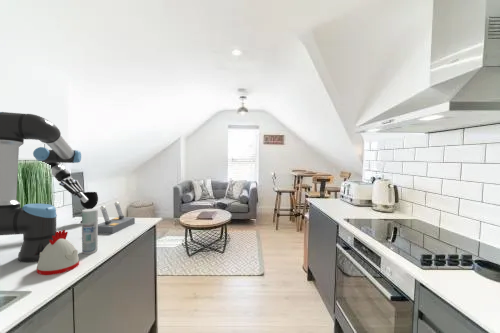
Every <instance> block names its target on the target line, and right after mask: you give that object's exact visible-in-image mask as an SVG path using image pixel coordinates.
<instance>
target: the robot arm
mask: <svg viewBox="0 0 500 333" xmlns="http://www.w3.org/2000/svg"><path fill="white" fill-rule="evenodd" d="M61 134H62V133H61V131H60V129H59V128H58V127H57V125H55V124H54V123H53V122H51V121H50V120H48V119H46V118H45V117H43V116H40V115H37V114H33V113H21V112H20V113H19V112H6V111H0V236H11V235H22V236H23V239H22V241H23V242H22V244H21V245H20V246H21V247H20V249H19V250H20V251H19V252H18V255H17V259H18V261H19V262H23V263H29V262H30V263H31V262H32V263H33V262H38V261H39V258H40V252H42V251H43V250H44V248H45V247H46V246H47V245H48V244H49V243H50V241H49V240H52V241H53V237H52V236H55V234H56V232H57V216H58V215H57V209H56V207H55V205H52V204H48V203H27V204H23V205H22V207H21V202H19V201H18V200H17V191H18V175H19V174H18V172H19V152H20V147H22V145H23V146H24V143H25V142H24V140H34V141H35V140H36V141H40V142H41V143H43V144H46V145H47V146H48V147H49V148H50V149H48V148H47V147H44V146H40V147H37V148H35V149H34V151H33V152H32V154H33V157H34V158H35V159H36V161H38V162H39V161H42V162H45V163H47V164H49V165H51V169H52V174H51V175H52V176H53V177H54V178H55V179H56V180H57V181H58V182H59V183H58V185H59V186H61V187H62V188H64V189H65V190H66V191H67V192H69V193H70V194H71V195H72V196H74V197H78V198H79V199H81V200H82V201H83V202H84V203H85V202H87V201H88V200H89V199H88V198H87V197H86V196H85V195H84V194H83V193H84V192H85V191H84V189H83V187H82V185H81V184H80V182H79V179H74V178H73V177H72V176H71V175H72V174H71V173H70V172H69V170H67V168H66V167H65V166H64V165H63V164H75V163H76V164H79V163H80V162H81V160H82V153H81V151H80V150H77V149H72V147H71V145H69V143H68V142H67V141H66V140H65V139H64V138H63V136H62V135H61ZM62 163H63V164H62Z"/></svg>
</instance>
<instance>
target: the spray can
mask: <svg viewBox="0 0 500 333" xmlns="http://www.w3.org/2000/svg"><path fill="white" fill-rule="evenodd" d="M81 221H82V223H81V238H82V239H81V244H82V245H81V246H82V247H81V248H82V249H81V250H82V254H85V255H86V254H87V255H88V254H94V253H96V252H97V251H98V247H99V246H98V244H99V243H98V241H99V240H98V239H99V237H98V236H99V235H98V234H99V233H98V224H99V222H98V221H99V209H98V208H92V209H86V208H84V209H82V210H81Z"/></svg>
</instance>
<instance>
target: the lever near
mask: <svg viewBox="0 0 500 333" xmlns="http://www.w3.org/2000/svg"><path fill="white" fill-rule="evenodd" d="M100 211H101V213H102V214H101V215H102V217H103V219H104V222H105V224H106V225H107V224H109V223H111V221H110V220H111V219H110V218H109V214H108V212H107V208H106V206H105V205H101V206H100Z"/></svg>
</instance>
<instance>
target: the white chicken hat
mask: <svg viewBox="0 0 500 333" xmlns="http://www.w3.org/2000/svg"><path fill="white" fill-rule="evenodd" d="M68 234H69V233H68V231H66V230H65V229H62V230H58V231H56V234H55V236H52V237H53V241H52V240H49V241H50V243H49V244H48V245H47V246H46V247H45V248H44V250H43V251H42V252H40V258H39V261H37V266H36V273H37V274H38V275H42V276H51V275H58V274H59V275H60V274H63V273H66V272H69V271H72V270H74V269H76V268H78V266H79V265H80V258H79V255H78V253H79V252H78V249H76V247H75V245H74V244H73V243H71V242H70V241H69V240H67V236H68Z"/></svg>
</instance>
